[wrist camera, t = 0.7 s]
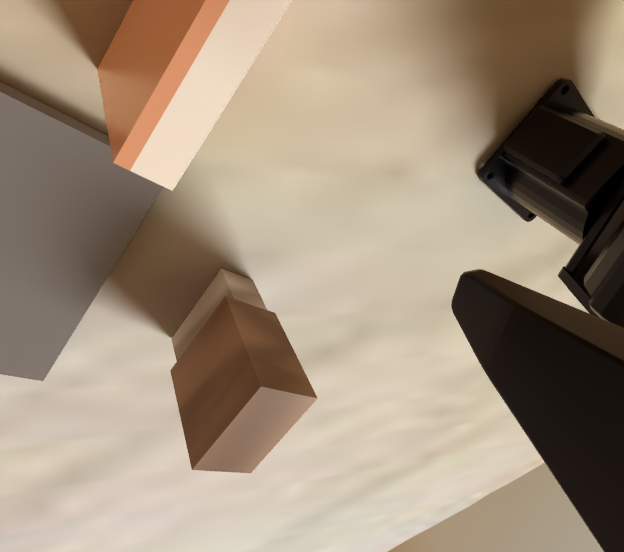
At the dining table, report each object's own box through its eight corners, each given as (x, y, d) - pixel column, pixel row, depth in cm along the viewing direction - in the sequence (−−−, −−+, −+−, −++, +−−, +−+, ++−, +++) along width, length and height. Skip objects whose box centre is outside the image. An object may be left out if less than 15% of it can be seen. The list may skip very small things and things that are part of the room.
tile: (224, -63, 16) (316, -39, 10) (137, 93, 17) (172, 190, 12) (185, -100, 15) (260, -97, 9) (97, 69, 16) (113, 162, 11)
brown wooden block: (260, 283, 25) (317, 398, 19) (210, 348, 27) (250, 473, 21) (213, 264, 23) (260, 386, 17) (162, 336, 25) (192, 469, 19)
